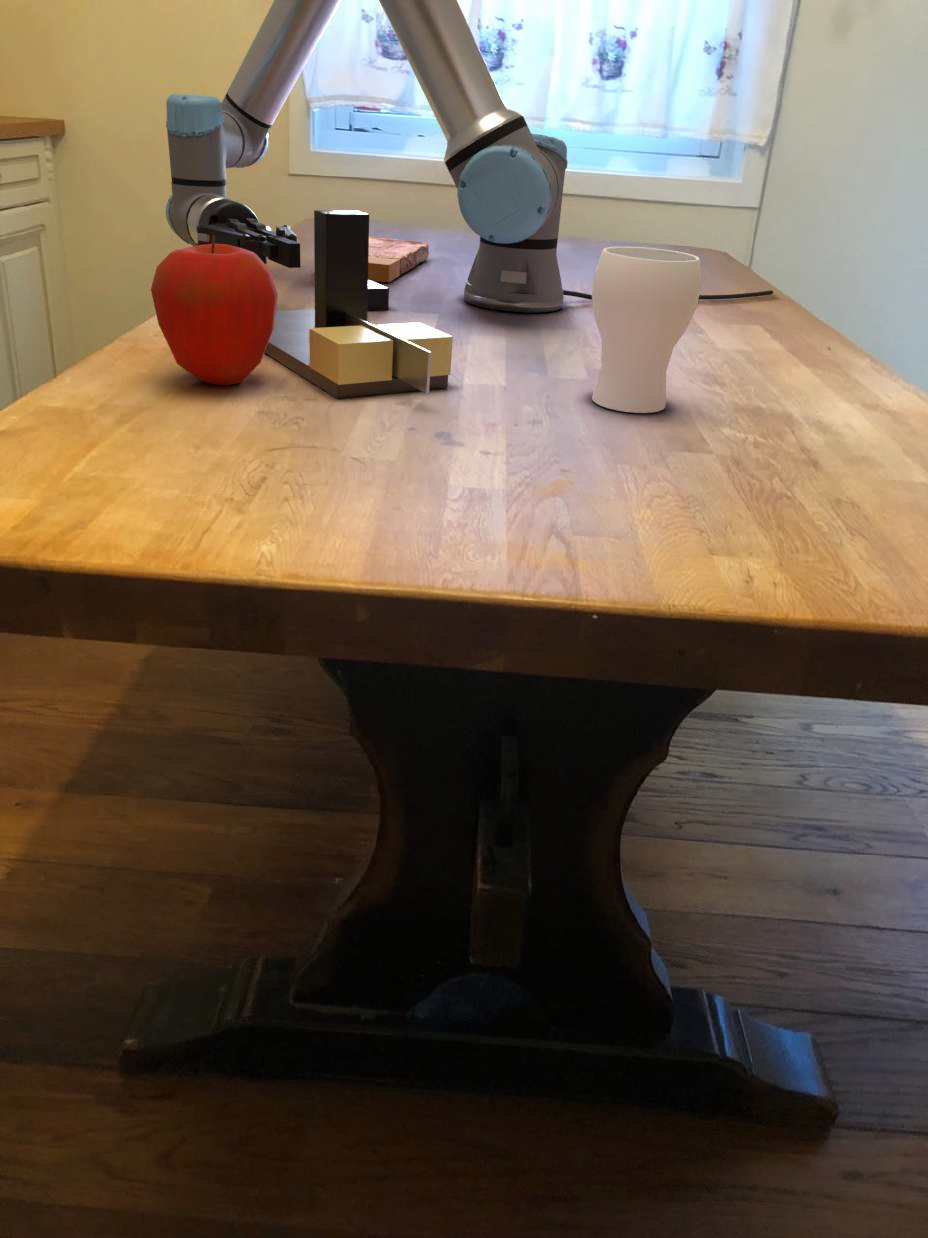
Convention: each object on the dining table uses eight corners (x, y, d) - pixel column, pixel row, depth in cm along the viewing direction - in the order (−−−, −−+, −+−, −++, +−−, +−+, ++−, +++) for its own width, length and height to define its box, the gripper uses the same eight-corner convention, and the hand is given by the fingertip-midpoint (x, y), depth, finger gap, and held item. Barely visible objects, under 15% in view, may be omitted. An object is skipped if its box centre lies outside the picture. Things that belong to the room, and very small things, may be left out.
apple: (179, 361, 103) (169, 222, 96) (289, 370, 103) (286, 231, 96) (142, 392, 92) (127, 237, 85) (265, 401, 92) (260, 247, 85)
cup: (678, 423, 96) (706, 266, 88) (573, 410, 97) (593, 254, 90) (678, 396, 105) (704, 252, 98) (583, 384, 106) (601, 241, 99)
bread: (312, 275, 155) (312, 254, 154) (363, 252, 181) (363, 234, 180) (389, 284, 153) (390, 262, 152) (430, 259, 179) (431, 240, 178)
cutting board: (220, 325, 120) (219, 312, 119) (315, 320, 126) (315, 308, 125) (336, 398, 95) (336, 383, 94) (447, 387, 101) (448, 373, 101)
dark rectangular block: (326, 300, 138) (326, 278, 137) (363, 298, 141) (363, 277, 140) (350, 311, 132) (350, 289, 131) (388, 309, 135) (389, 287, 134)
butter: (309, 367, 99) (309, 328, 97) (417, 358, 105) (419, 321, 103) (338, 384, 94) (338, 343, 92) (450, 374, 100) (452, 336, 98)
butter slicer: (314, 345, 106) (313, 209, 100) (355, 342, 109) (356, 210, 102) (405, 395, 91) (411, 240, 84) (449, 391, 94) (459, 239, 87)
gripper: (270, 256, 134) (344, 286, 117) (179, 258, 128) (243, 290, 111) (269, 198, 131) (344, 221, 114) (175, 197, 124) (240, 221, 107)
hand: (294, 255), depth 112 cm, fingers closed
